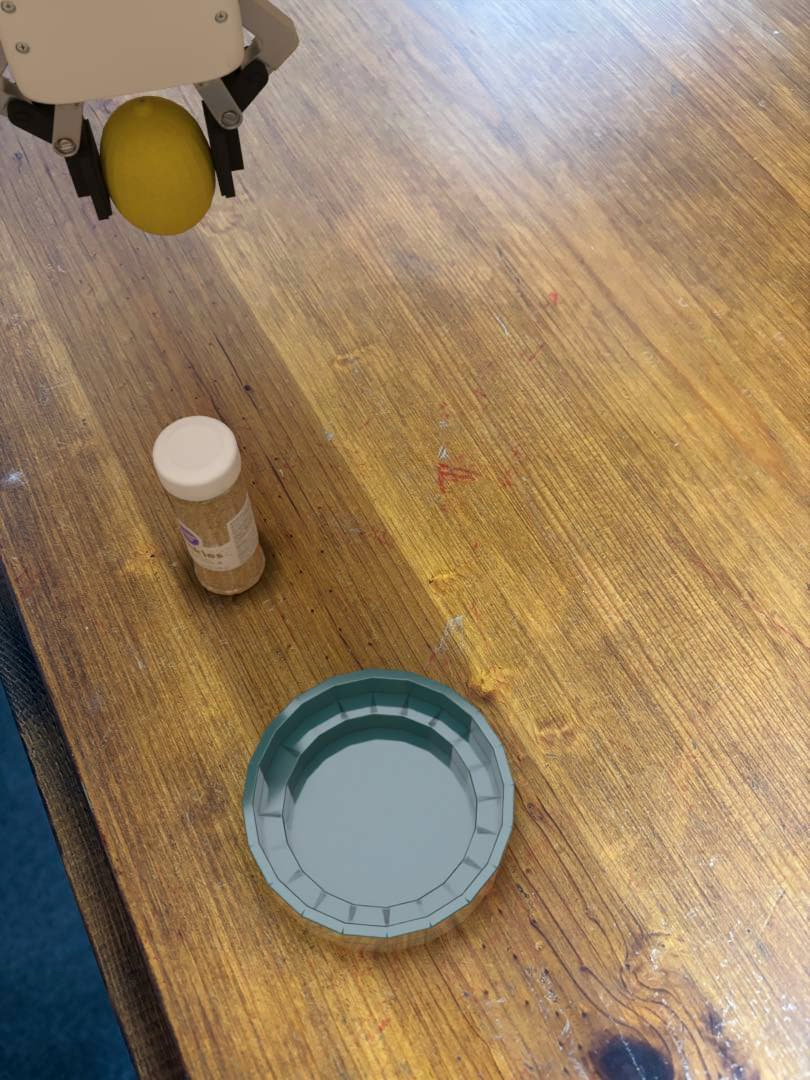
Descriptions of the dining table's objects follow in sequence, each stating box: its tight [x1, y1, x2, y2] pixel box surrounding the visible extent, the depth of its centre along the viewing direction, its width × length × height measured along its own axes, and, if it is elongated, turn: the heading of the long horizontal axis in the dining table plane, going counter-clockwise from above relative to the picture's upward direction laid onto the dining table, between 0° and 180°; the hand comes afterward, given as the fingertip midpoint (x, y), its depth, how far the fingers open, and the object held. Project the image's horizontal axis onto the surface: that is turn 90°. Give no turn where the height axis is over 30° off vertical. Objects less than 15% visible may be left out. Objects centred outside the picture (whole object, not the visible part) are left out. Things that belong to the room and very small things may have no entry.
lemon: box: [99, 95, 217, 237], centre depth 53 cm, size 6×6×8 cm
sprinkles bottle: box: [152, 415, 266, 596], centre depth 62 cm, size 5×5×13 cm
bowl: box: [241, 667, 516, 953], centre depth 58 cm, size 14×14×5 cm
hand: (163, 187), depth 54 cm, fingers closed on lemon, 5 cm apart
